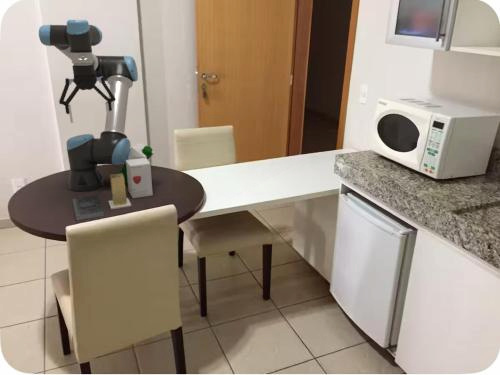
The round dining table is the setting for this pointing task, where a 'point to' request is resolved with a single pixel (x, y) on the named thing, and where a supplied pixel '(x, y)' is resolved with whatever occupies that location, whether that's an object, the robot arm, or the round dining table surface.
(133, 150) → the milk carton
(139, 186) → the supplement box
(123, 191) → the gold metal column
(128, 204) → the mat
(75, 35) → the robot arm
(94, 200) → the grey metal slotted plate
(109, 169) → the round dining table surface
